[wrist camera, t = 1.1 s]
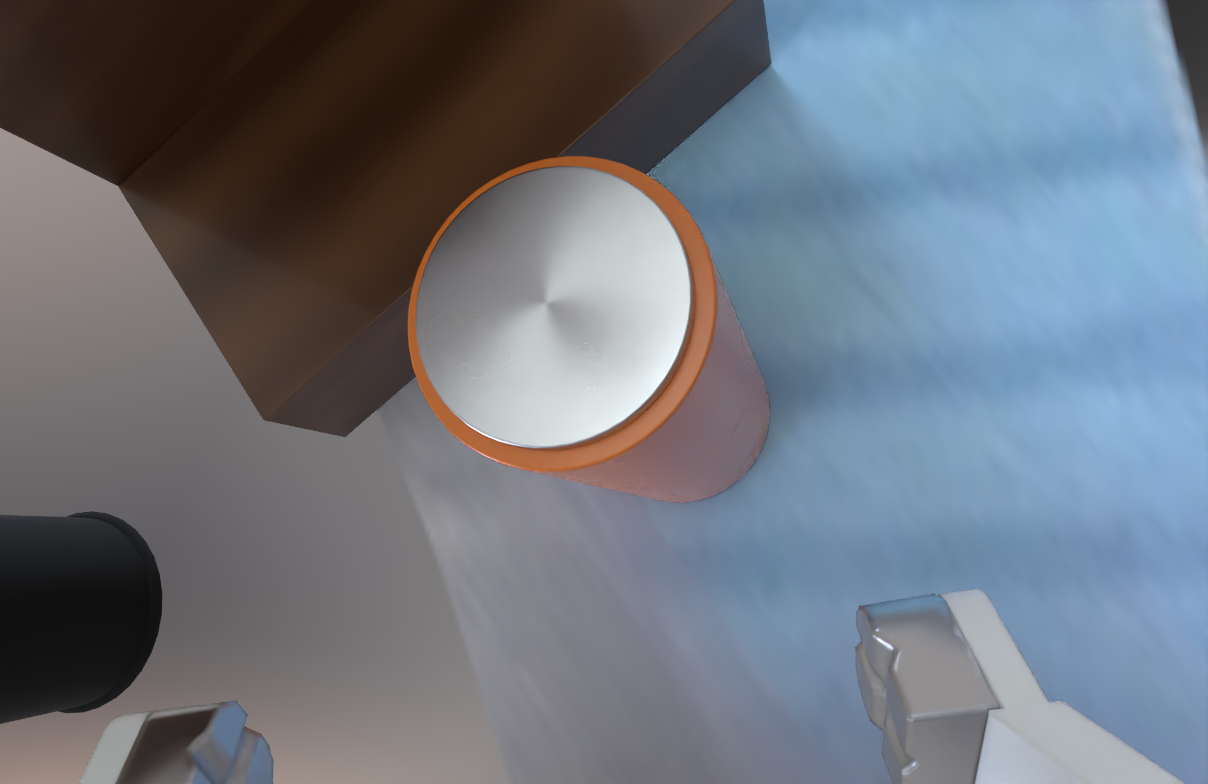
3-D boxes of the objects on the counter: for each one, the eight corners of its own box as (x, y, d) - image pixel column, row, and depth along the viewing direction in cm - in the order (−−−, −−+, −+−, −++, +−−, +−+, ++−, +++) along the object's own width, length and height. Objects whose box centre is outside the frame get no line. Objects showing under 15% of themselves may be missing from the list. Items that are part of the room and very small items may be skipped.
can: (761, 316, 29) (700, 118, 15) (778, 496, 28) (728, 455, 14) (589, 337, 31) (395, 174, 17) (598, 508, 29) (396, 482, 16)
